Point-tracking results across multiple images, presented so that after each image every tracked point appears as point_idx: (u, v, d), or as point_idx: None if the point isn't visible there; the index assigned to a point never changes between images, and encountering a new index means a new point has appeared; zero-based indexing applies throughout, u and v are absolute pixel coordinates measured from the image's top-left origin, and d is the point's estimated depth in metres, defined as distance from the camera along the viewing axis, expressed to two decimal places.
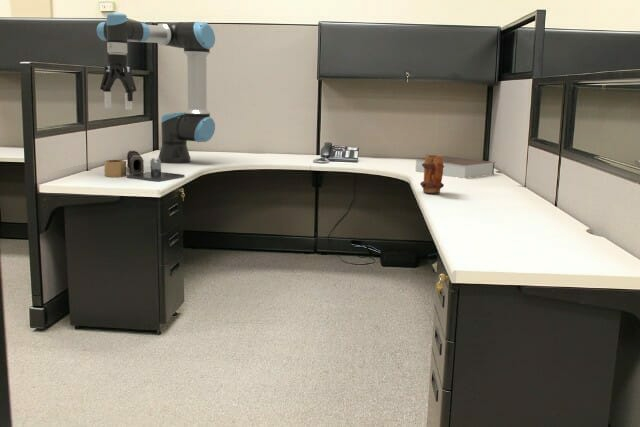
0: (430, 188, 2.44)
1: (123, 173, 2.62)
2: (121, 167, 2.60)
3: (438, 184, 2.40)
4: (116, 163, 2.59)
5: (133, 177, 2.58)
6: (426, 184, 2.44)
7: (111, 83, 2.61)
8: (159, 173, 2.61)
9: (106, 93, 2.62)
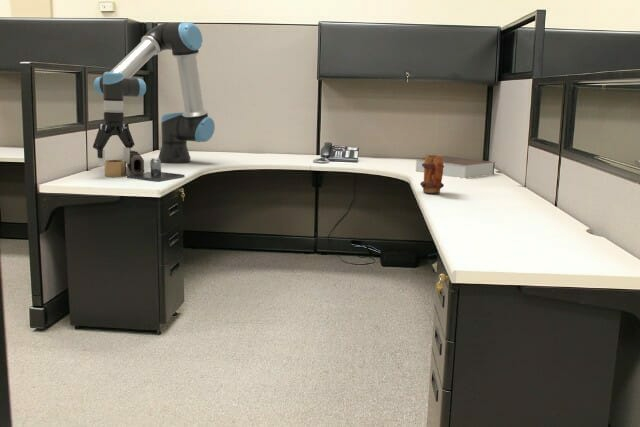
0: (430, 188, 2.44)
1: (123, 173, 2.62)
2: (121, 167, 2.60)
3: (438, 184, 2.40)
4: (116, 163, 2.59)
5: (133, 177, 2.58)
6: (426, 184, 2.44)
7: (123, 139, 2.64)
8: (159, 173, 2.61)
9: (124, 149, 2.67)
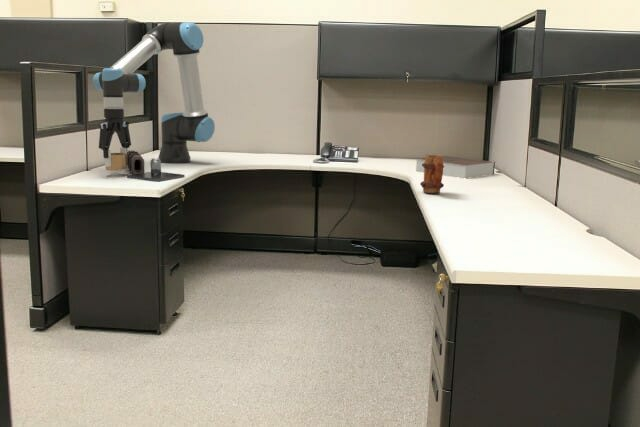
0: (430, 188, 2.44)
1: (124, 166, 2.61)
2: (121, 160, 2.60)
3: (438, 184, 2.40)
4: (117, 156, 2.58)
5: (133, 177, 2.58)
6: (426, 184, 2.44)
7: (121, 138, 2.63)
8: (159, 173, 2.61)
9: (121, 149, 2.65)
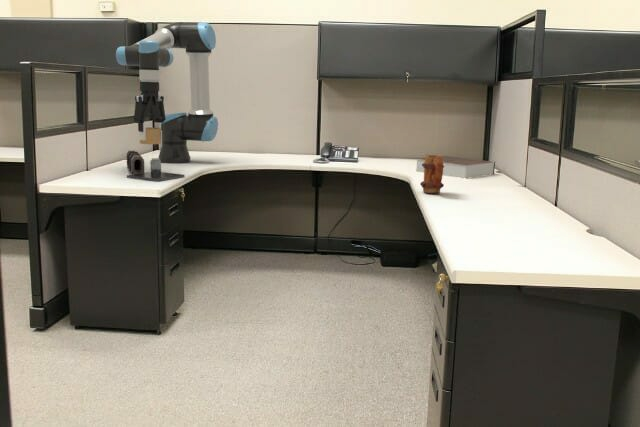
0: (430, 188, 2.44)
1: (158, 140, 2.58)
2: (156, 134, 2.57)
3: (438, 184, 2.40)
4: (151, 130, 2.55)
5: (133, 177, 2.58)
6: (426, 184, 2.44)
7: (156, 112, 2.60)
8: (159, 173, 2.61)
9: (155, 124, 2.62)
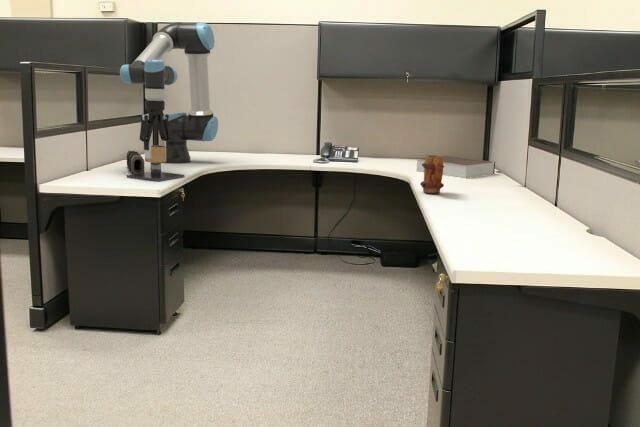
0: (430, 188, 2.44)
1: (164, 158, 2.60)
2: (161, 152, 2.58)
3: (438, 184, 2.40)
4: (157, 148, 2.57)
5: (133, 177, 2.58)
6: (426, 184, 2.44)
7: (161, 130, 2.62)
8: (159, 173, 2.61)
9: (160, 142, 2.64)
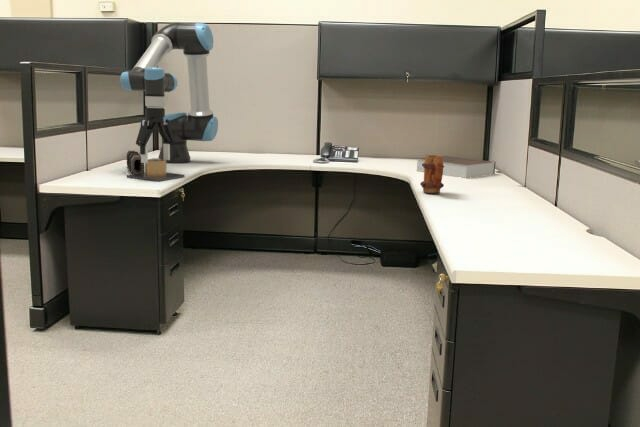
0: (430, 188, 2.44)
1: (164, 172, 2.61)
2: (162, 166, 2.59)
3: (438, 184, 2.40)
4: (157, 162, 2.58)
5: (133, 177, 2.58)
6: (426, 184, 2.44)
7: (163, 135, 2.63)
8: None
9: (164, 145, 2.66)
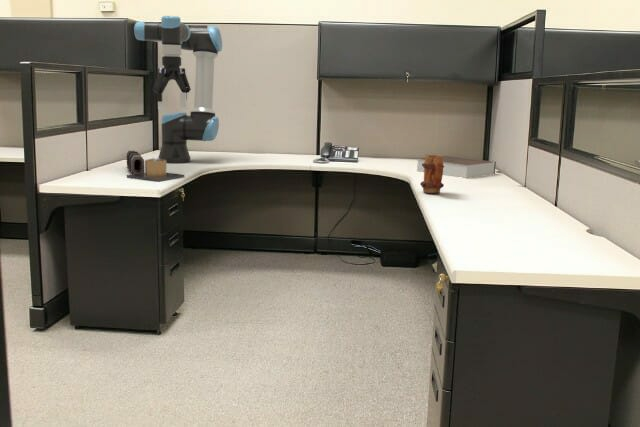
0: (430, 188, 2.44)
1: (164, 172, 2.61)
2: (162, 166, 2.59)
3: (438, 184, 2.40)
4: (157, 162, 2.58)
5: (133, 177, 2.58)
6: (426, 184, 2.44)
7: (180, 84, 2.69)
8: None
9: (181, 94, 2.72)
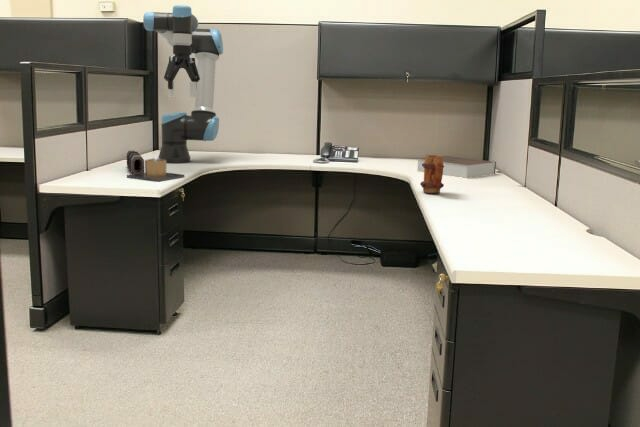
0: (430, 188, 2.44)
1: (164, 172, 2.61)
2: (162, 166, 2.59)
3: (438, 184, 2.40)
4: (157, 162, 2.58)
5: (133, 177, 2.58)
6: (426, 184, 2.44)
7: (190, 73, 2.73)
8: None
9: (190, 83, 2.76)
